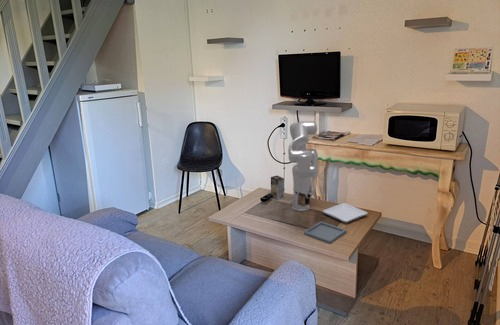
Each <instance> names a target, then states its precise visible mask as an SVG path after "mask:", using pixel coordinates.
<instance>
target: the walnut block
mask: <svg viewBox="0 0 500 325" xmlns="http://www.w3.org/2000/svg"><path fill="white" fill-rule="evenodd" d="M305 199H306V195H305V194H302V193H301V194H299V195H298V205H301V206H306V204H305ZM307 205H309V204H307Z"/></svg>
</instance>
